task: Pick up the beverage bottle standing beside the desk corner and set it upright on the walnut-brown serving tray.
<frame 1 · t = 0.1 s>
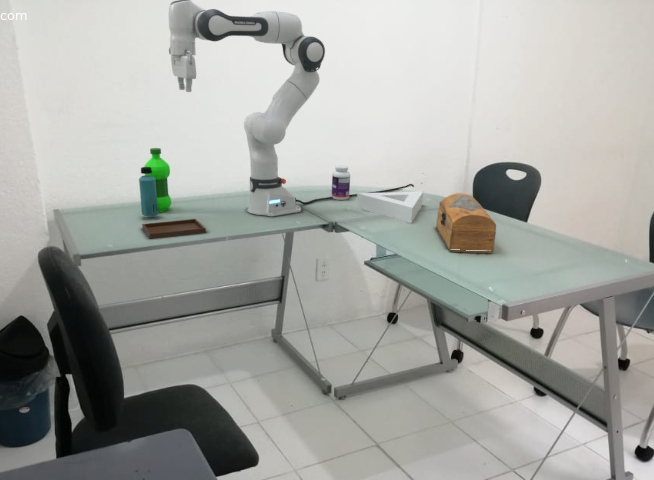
hand: (185, 90, 220), 48 cm above the table, tool pointing down, fingers open, 8 cm apart
plastic bottle: (160, 210, 249), on the table
pill bottle: (340, 199, 273), on the table
wooden box: (461, 240, 220), on the table
beverage bottle: (150, 218, 238), on the table
triangle block: (402, 210, 257), on the table
tray: (173, 230, 223), on the table
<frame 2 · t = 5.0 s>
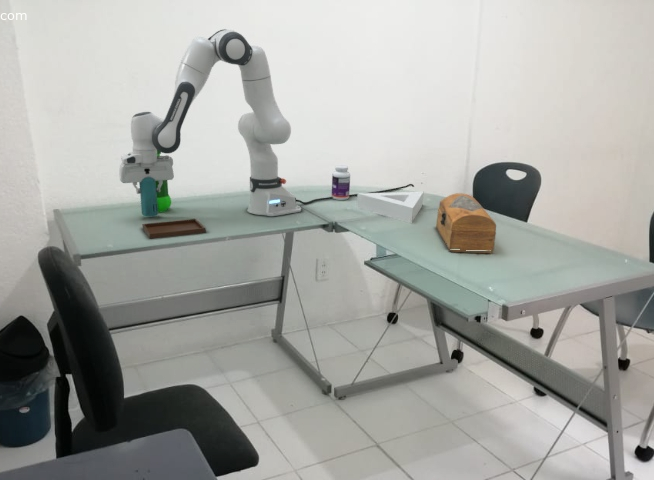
hand: (148, 192, 234), 10 cm above the table, tool pointing down, fingers closed on beverage bottle, 6 cm apart
beverage bottle: (150, 218, 238), on the table, touching gripper
everything else where it was.
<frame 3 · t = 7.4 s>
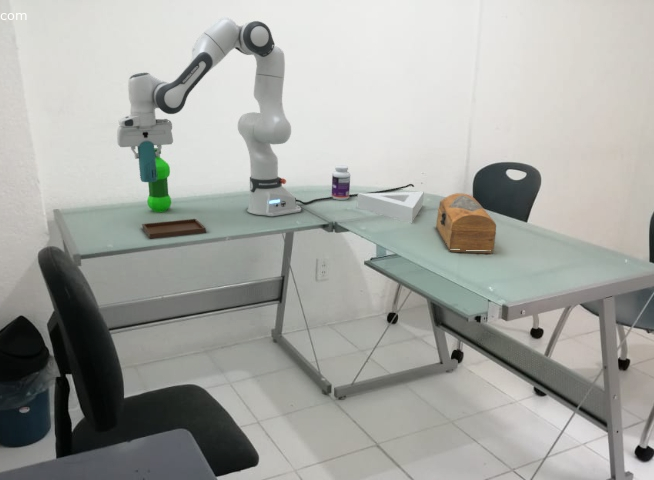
hand: (147, 157, 228), 24 cm above the table, tool pointing down, fingers closed on beverage bottle, 6 cm apart
beverage bottle: (149, 184, 232), point 13 cm above the table, touching gripper
everything else where it was.
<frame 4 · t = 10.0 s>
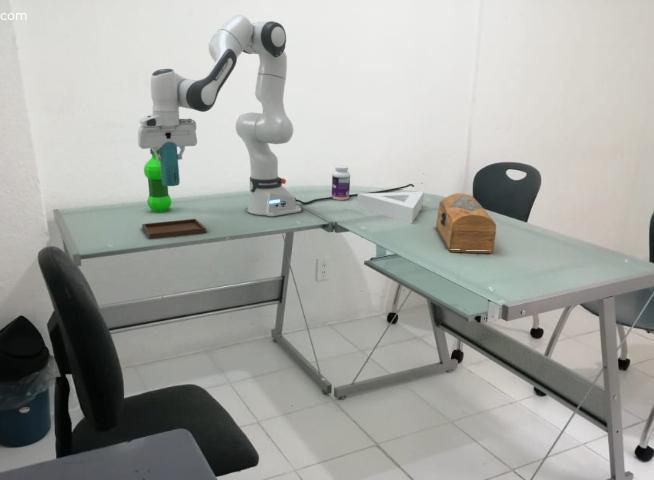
hand: (169, 160, 213), 26 cm above the table, tool pointing down, fingers closed on beverage bottle, 6 cm apart
beverage bottle: (171, 188, 217), point 16 cm above the table, touching gripper
everything else where it was.
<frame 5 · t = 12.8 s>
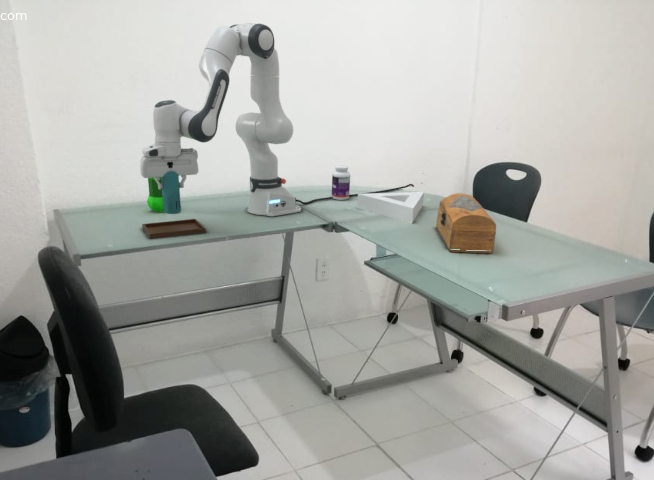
hand: (171, 188, 217), 16 cm above the table, tool pointing down, fingers closed on beverage bottle, 6 cm apart
beverage bottle: (172, 216, 221), point 6 cm above the table, touching gripper
everything else where it was.
when the fingers open (11 cm above the table, at t = 15.2 s): beverage bottle stays where it is, resting on tray.
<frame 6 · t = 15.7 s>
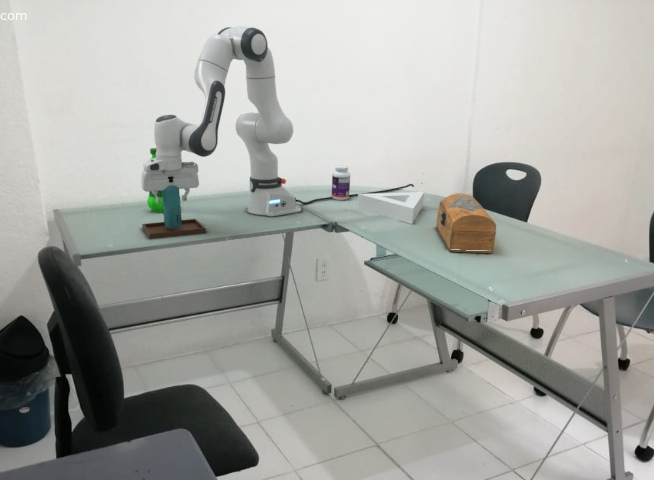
hand: (171, 201, 219), 11 cm above the table, tool pointing down, fingers open, 8 cm apart
beverage bottle: (173, 229, 223), resting on tray
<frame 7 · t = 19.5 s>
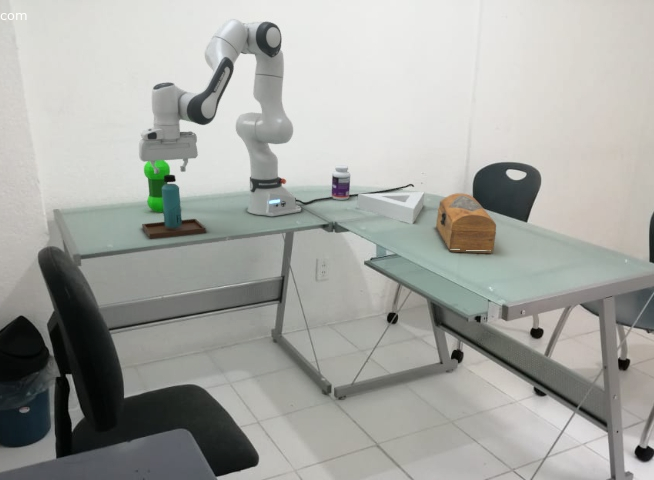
hand: (170, 172, 215), 22 cm above the table, tool pointing down, fingers open, 8 cm apart
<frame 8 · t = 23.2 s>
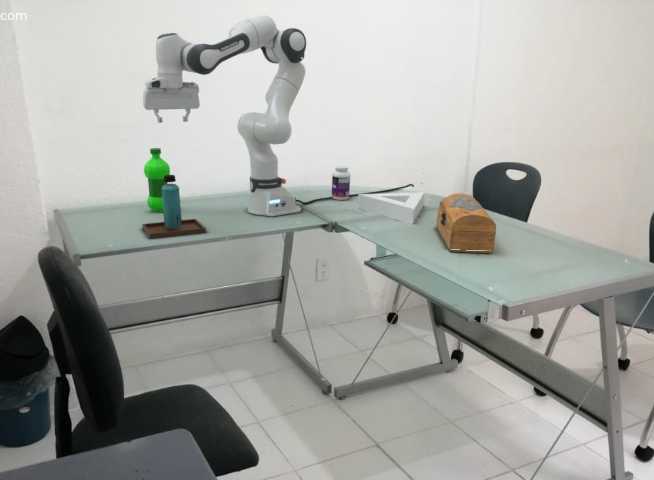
hand: (172, 122, 222), 37 cm above the table, tool pointing down, fingers open, 8 cm apart
at the end: beverage bottle inside the target area in the tray (0.1 cm from its centre), point 0.4 cm above the tray's base; beverage bottle tilted 0° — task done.
